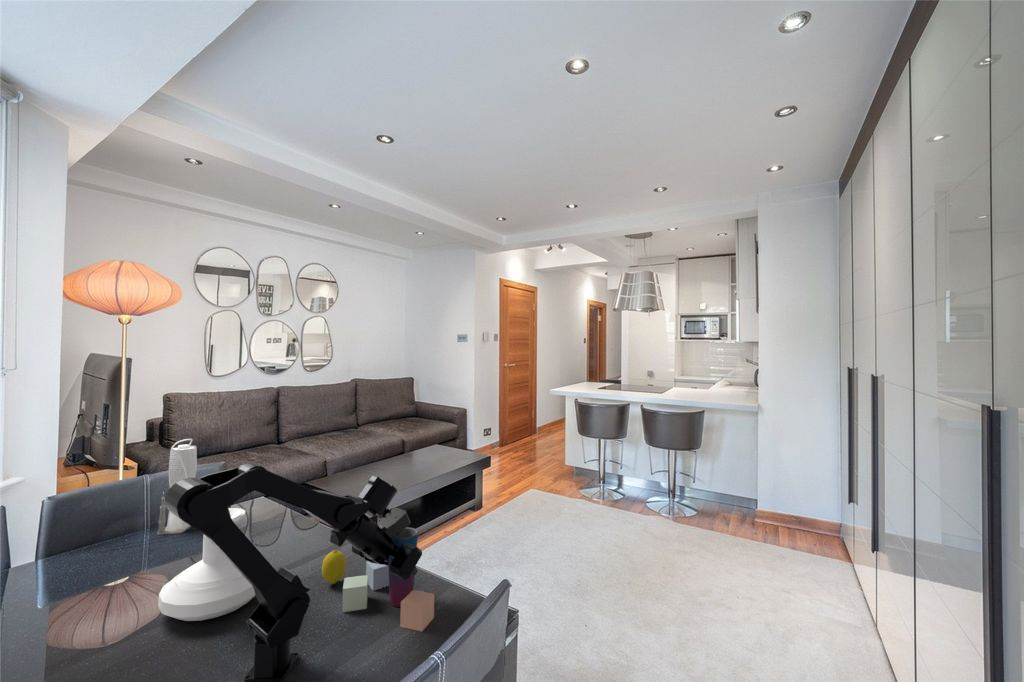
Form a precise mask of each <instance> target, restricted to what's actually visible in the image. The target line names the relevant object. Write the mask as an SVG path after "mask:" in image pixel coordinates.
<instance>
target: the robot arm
mask: <svg viewBox="0 0 1024 682" xmlns="http://www.w3.org/2000/svg"><path fill="white" fill-rule="evenodd" d="M255 491H256V492H258V493H260V494H263V495H266V496H269V497H271V498H274V499H277V500H279V501H282V502H284V503H287V504H289V505H292V506H294V507H297V508H300V509H302V510H303V511H305V512H306V514H308V515H309V516H311V517H313V518H314V519H315V520H317V521H318V522H321V523H323V524H324V525H325V524H326V525H327V526H330V527H332V528H334V529H331V531H330V538H329V542H330V543H332V544H334V545H336V546H337V547H342V546H343V545H344V543H345V542H346V541H347V542H348V543H349V544H351V545H352V546H351V552H352V553H353V554H354V555H356V556H357V557H359V558H361V559H364V560H365V561H366V562H367V561H369V562H371V563H376V564H380V565H381V564H382V565H388V559H389V556H390V557H392V558H394V559H393V561H392V562H391V564H390V572H392V574H394V575H396V576H398V577H400V578H401V579H403V580H406V579H408V578H409V576H415V577H416V575H417V573H418V568H417V567H416V566H417V564H418V563H419V561H420V559H421V558H422V556H423V551H422V549H420V548H419V547H418V546H417V547H416V546H414V545H412V544H409V543H405V544H403V545H402V546H401V547H398V546H396V545H394V543H395V544H396V543H397V541H398V540H399V538H398V537H397V536H396V535H398V534H400V533H401V532H402V531H403V530H404V529H405V528H406V527H409V526H410V525H411V520H410V518H409V515H408V512H407V511H406V510H405V509H402V508H399V507H391V508H388V507H389V504H391V502H392V500H393V499H394V498H395V496H396V494H397V493H398V489H397V488H396V487H395V486H394V485H392V484H390V483H388V481H387V482H386V481H385V480H384V479H382V478H381V477H380V476H377V475H374V474H373V475H372V476H371V477H370V479H369V480H368V482H367V484H366V485H365V486H364V488H363V489H362V491H361V492H360V493H359V494H358V496H355V495H351V494H346V495H341V494H339V493H338V494H337V493H336V492H331V491H326V490H320V489H313V488H309V487H308V486H305V485H302V484H300V483H298V482H295V481H293V480H290V479H289V478H285V476H284V477H283V476H281V475H279V474H277V473H273V472H272V471H269V470H268V469H267V468H265V467H264V466H262V465H258V464H257V463H252V462H248V463H247V462H245V463H243V464H241V465H238V466H236V467H234V468H233V467H232V468H229V469H225V470H220V471H217V472H213V473H209V474H206V475H204V476H201V477H195V478H186V479H182V480H180V481H178V482H176V483H175V484H174V485H173V486H172V487H171V488H170V487H169V489H168V491H167V492H166V494H165V496H164V498H165V500H164V506H166V509H167V510H168V512H169V511H170V512H172V513H173V514H174V515H176V516H177V517H178V518H180V519H181V520H183V521H184V522H186V523H187V524H189V525H190V526H192V528H193V529H194V530H196V531H198V532H200V534H204V535H206V537H207V538H208V539H209V540H210V541H211V542H212V543H213V544H214V545H215V546H216V547H217V548H218V549H219V551H220V552H221V553H222V554H223V555H224V556H225V557H226V558H227V559H228V560H229V561H230V562H231V563H232V564H233V566H234V567H235V568H236V569H237V570H238V571H239V572H240V573H241V574H242V575H243V576H244V577H245V578H246V580H247V581H248V582H249V583H250V584H251V585H252V586H253V588H254V591H255V597H256V599H257V601H258V604H257V606H255V608H254V609H253V610H252V612H251V613H250V614H249V616H248V617H247V618H246V620H245V622H246V624H247V626H248V629H249V630H250V631H252V632H253V633H254V634H255V636H254V651H253V656H254V657H253V666H252V668H251V669H250V670H249V671H248V672H247V673H246V675H244V679H243V680H244V681H243V682H282V681H283V680H284V679H285V677H286V676H287V674H288V673H289V672H290V670H291V669H292V667H293V665H294V664H295V663H296V661H297V659H298V658H299V657H300V656H299V654H300V653H299V652H292V639H293V638H295V637H297V636H298V635H299V633H300V631H301V626H302V625H303V620H304V617H305V615H306V613H307V611H308V609H309V607H310V606H309V605H310V603H311V598H310V595H309V593H308V592H310V590H311V589H310V588H309V587H308V586H306V585H305V584H303V582H302V580H301V579H300V577H299V575H298V574H296V573H295V572H293V571H291V570H290V569H288V567H287V568H286V567H285V566H283V565H282V566H281V567H280V568H279V569H278V571H277V570H276V569H275V567H273V565H272V563H270V561H268V559H266V558H265V556H264V555H263V554H262V553H261V552H260V551H259V550H258V548H257V547H256V546H255V545H254V543H253V542H252V541H251V540H250V539H249V538H248V537H247V536H246V535H245V533H244V532H243V531H242V530H241V528H239V526H238V525H237V524H236V522H233V521H232V518H231V515H230V512H229V509H228V508H229V506H232V505H233V504H235V503H237V502H238V501H239V500H241V499H242V498H244V497H245V496H246V495H248V494H250V493H253V492H255ZM368 515H369V516H371V517H373V518H375V517H376V515H377V519H378V522H377V523H376V522H375V521H374V520H372V519H371V518H370V517H369V516H368ZM393 550H394V551H393ZM395 551H396V552H395Z"/></svg>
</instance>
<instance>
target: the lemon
mask: <svg viewBox="0 0 1024 682" xmlns="http://www.w3.org/2000/svg"><path fill="white" fill-rule="evenodd" d="M346 559H347V558H346V556H345V555H344V553H343V552H341V551H339V550H336V549H334V550H332V551H331V552H328V554H326V555H325V557H324V559H323V561H322V564H321V575H322V578H323V579H324V581H325V582H327V583H330V584H331V585H335V584H336V583H337V582H338V581H340V580H341V579H343V577H344V576H345V573H346V570H347V560H346Z"/></svg>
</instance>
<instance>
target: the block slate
mask: <svg viewBox="0 0 1024 682" xmlns="http://www.w3.org/2000/svg"><path fill="white" fill-rule="evenodd" d="M365 575H368V585H369V586H370V587H369V586H368V587H369V588H370V589H371V590H372V591H373V592H375V591H377V590H378V591H379V590H380V589H383V587H384V588H387V587H389V567H388V565H382V564H381V565H380V564H376V563H371V562H369V561H367V560H366V563H365ZM386 586H387V587H386Z"/></svg>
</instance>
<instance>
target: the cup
mask: <svg viewBox="0 0 1024 682" xmlns="http://www.w3.org/2000/svg"><path fill="white" fill-rule="evenodd" d="M418 535H419V531H418V530H417V529H416V528H414V527H409V526H408V527H406V528H405V529H404V530H403V531H402V532H401V533H400V534H398V535H396V536H397V537H398V538H399V540H398V541H397V543H396V544H395V543H394V545H396V546H398V547H401V546H402V545H403V544H405V543H409V544H412V545H414V546H416V547H418V538H419V537H418ZM393 551H394V550H393ZM395 552H396V551H395ZM393 559H394V558H392V557H390V556H389V559H388V567H389V586H388V588H389V589H388V591H389V604H390V605H392V606H393V607H397V608H399V607H400V608H401V601H402V600H403V599H404V598H406V597H407V596H408V595H409V594H410V593H411V592H412V591H413V590H415V588H414V587H415V577H416V575H415V576H409V578H408V579H406V580H403V579H401V578H400V577H398V576H396V575H394V574H392V572H390V564H391V562H392V561H393Z"/></svg>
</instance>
